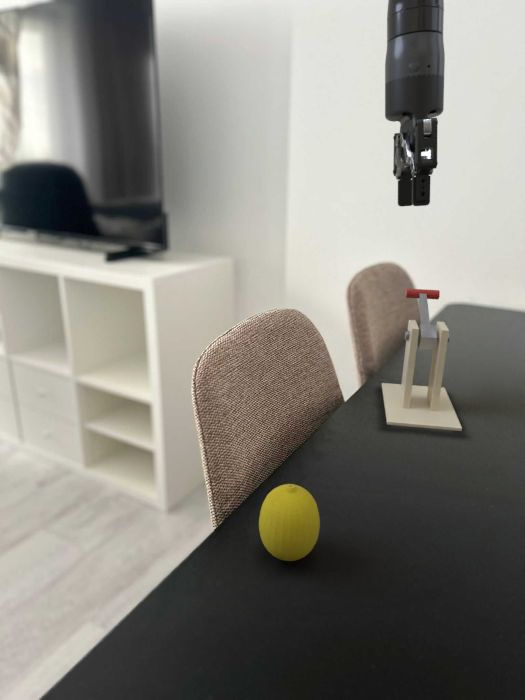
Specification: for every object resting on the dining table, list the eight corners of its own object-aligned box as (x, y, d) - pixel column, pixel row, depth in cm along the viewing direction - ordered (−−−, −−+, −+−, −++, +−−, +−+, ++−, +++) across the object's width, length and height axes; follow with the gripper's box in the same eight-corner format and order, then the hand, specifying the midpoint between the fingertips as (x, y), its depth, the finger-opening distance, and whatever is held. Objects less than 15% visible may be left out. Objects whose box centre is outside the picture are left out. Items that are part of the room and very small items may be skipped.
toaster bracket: (380, 391, 85) (389, 310, 80) (443, 396, 83) (455, 314, 79) (386, 431, 72) (396, 337, 67) (460, 438, 70) (476, 342, 66)
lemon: (276, 531, 52) (278, 462, 49) (327, 551, 49) (332, 479, 46) (247, 565, 47) (247, 491, 44) (300, 590, 44) (304, 512, 42)
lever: (404, 296, 82) (406, 284, 81) (437, 298, 81) (439, 285, 80) (408, 348, 74) (410, 336, 72) (444, 350, 73) (447, 338, 71)
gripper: (461, 61, 61) (456, 204, 65) (428, 88, 74) (425, 204, 79) (397, 67, 61) (396, 208, 65) (375, 92, 75) (376, 207, 79)
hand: (412, 206), depth 72 cm, fingers open, 8 cm apart
